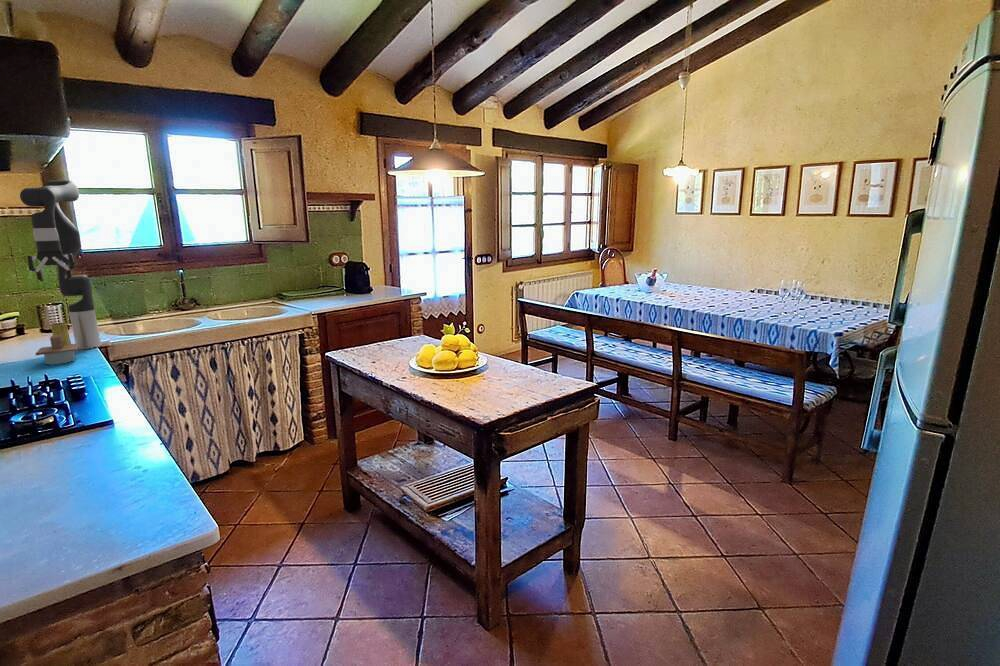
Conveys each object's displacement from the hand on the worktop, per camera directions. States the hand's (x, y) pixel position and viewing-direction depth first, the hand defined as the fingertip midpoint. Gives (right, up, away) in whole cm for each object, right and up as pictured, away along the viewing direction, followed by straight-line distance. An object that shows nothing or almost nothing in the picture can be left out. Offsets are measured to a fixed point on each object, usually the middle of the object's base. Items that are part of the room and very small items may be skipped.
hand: (55, 280), depth 211 cm
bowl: (0, -33, +3) cm, 33 cm away
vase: (-7, -32, +13) cm, 35 cm away
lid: (0, -28, +2) cm, 28 cm away
